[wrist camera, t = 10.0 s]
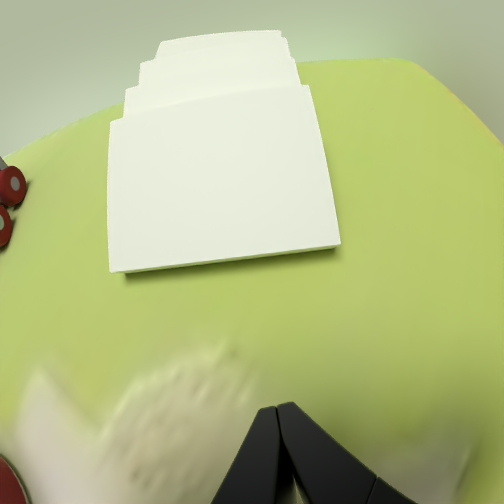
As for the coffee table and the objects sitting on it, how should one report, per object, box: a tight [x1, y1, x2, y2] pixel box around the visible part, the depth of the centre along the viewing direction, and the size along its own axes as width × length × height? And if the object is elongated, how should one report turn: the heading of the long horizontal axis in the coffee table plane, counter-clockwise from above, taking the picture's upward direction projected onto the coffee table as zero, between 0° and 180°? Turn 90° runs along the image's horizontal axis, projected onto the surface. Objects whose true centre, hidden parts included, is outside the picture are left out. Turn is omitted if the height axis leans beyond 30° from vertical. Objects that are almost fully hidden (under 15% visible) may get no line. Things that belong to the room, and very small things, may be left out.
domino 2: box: [138, 37, 291, 86], centre depth 23 cm, size 2×13×10 cm
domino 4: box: [107, 85, 341, 274], centre depth 18 cm, size 2×13×10 cm
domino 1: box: [155, 30, 281, 59], centre depth 26 cm, size 2×13×10 cm
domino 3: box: [123, 58, 301, 117], centre depth 20 cm, size 2×13×10 cm
